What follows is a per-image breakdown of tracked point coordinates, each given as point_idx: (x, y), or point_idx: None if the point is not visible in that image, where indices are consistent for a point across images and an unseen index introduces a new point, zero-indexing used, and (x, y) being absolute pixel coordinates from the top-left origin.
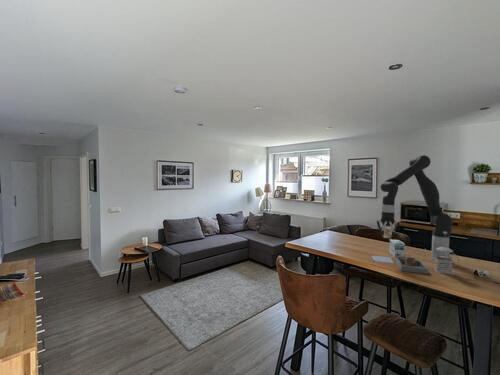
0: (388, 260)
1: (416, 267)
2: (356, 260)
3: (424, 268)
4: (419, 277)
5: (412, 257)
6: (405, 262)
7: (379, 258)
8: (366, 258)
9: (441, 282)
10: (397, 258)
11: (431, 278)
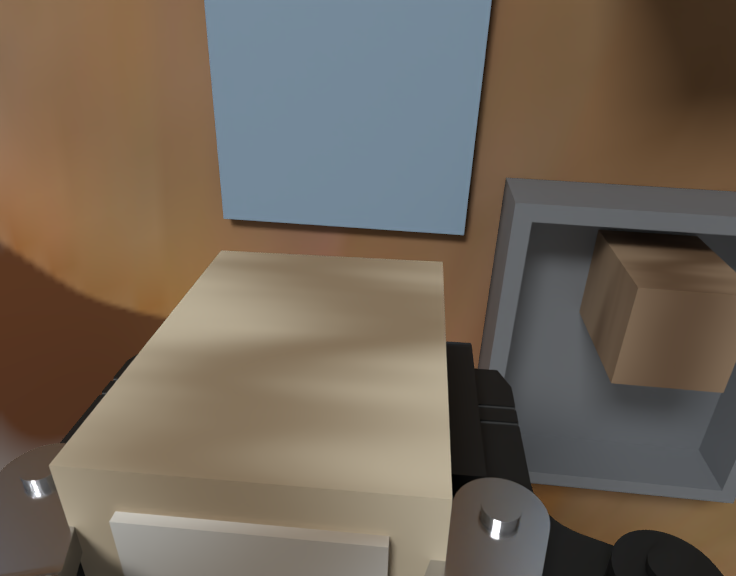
0: (421, 143)
1: (618, 490)
2: (40, 245)
3: (695, 499)
4: (579, 518)
5: (700, 373)
6: (597, 288)
7: (308, 87)
8: (140, 113)
9: (716, 566)
10: (523, 236)
11: (682, 515)
